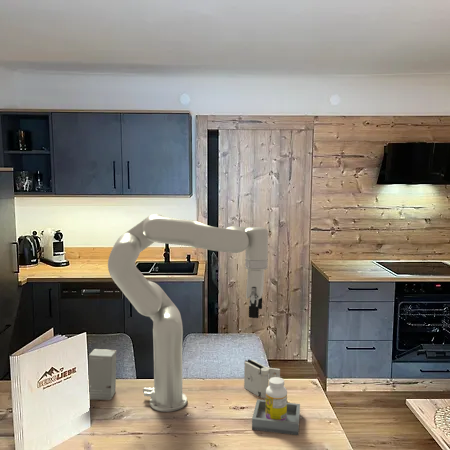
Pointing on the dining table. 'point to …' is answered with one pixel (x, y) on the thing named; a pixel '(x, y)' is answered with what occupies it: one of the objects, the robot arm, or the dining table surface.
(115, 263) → the robot arm
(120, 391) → the dining table surface
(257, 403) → the parts tray
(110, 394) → the skincare box
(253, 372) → the hinge
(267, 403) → the supplement bottle
